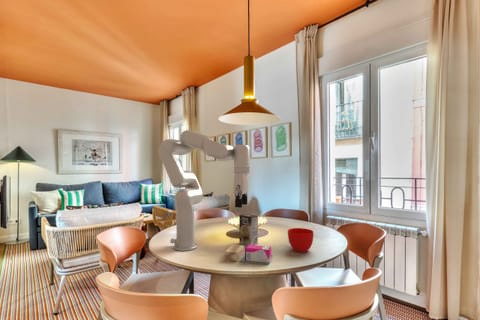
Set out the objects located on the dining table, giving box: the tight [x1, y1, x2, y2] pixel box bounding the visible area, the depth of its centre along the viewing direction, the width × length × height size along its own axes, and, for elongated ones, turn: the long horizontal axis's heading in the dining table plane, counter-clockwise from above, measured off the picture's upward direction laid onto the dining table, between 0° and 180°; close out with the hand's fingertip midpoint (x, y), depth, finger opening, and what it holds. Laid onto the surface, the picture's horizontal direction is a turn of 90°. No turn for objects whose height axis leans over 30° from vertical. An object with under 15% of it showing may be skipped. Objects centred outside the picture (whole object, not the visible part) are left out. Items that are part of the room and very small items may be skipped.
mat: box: [239, 254, 273, 266], centre depth 121 cm, size 13×12×1 cm
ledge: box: [224, 244, 245, 262], centre depth 124 cm, size 6×11×4 cm, turn 164°
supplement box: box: [244, 244, 272, 264], centre depth 119 cm, size 6×6×12 cm
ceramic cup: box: [287, 227, 314, 253], centre depth 135 cm, size 13×17×10 cm
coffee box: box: [238, 213, 259, 246], centre depth 146 cm, size 9×6×16 cm
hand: (241, 205), depth 125 cm, fingers open, 9 cm apart
